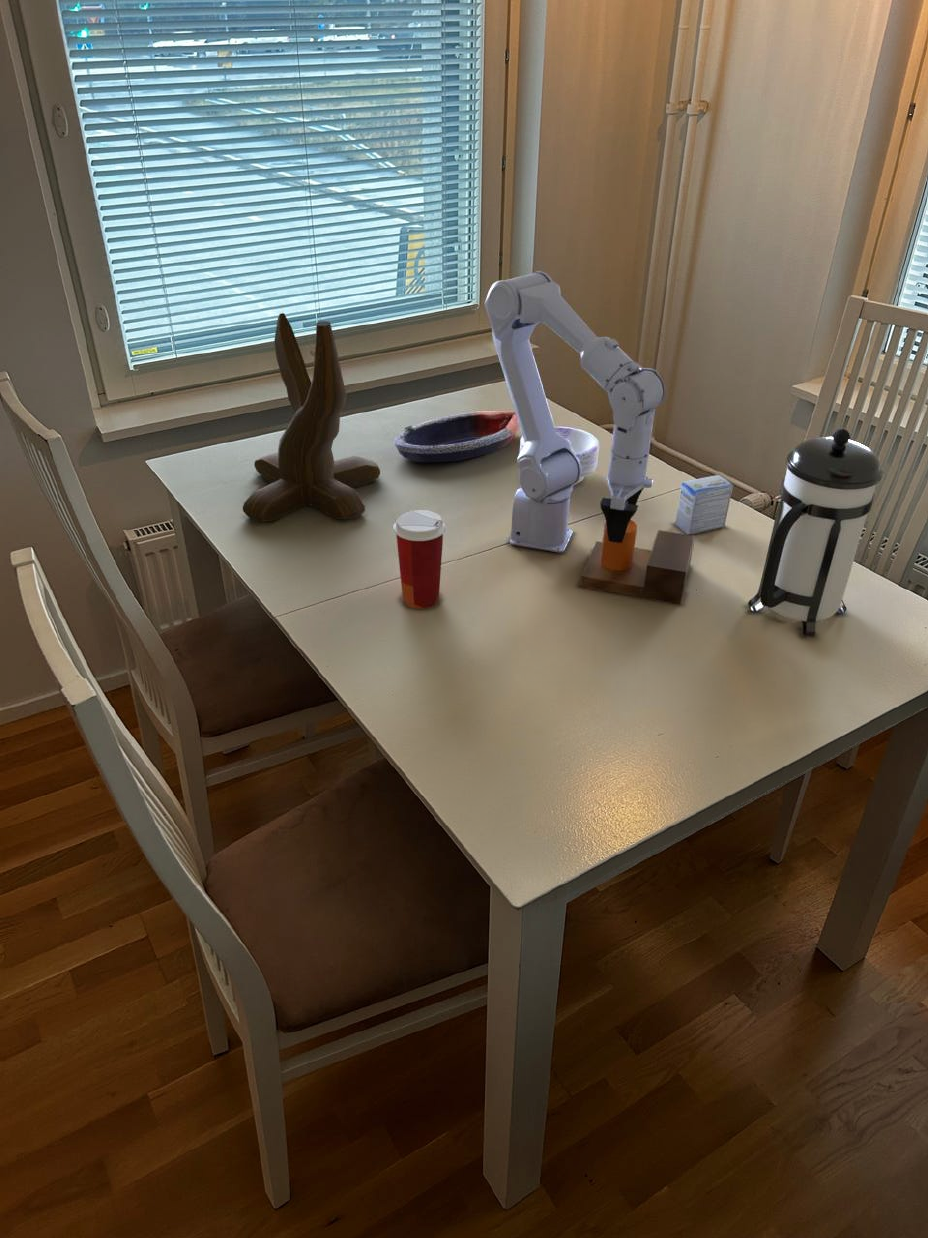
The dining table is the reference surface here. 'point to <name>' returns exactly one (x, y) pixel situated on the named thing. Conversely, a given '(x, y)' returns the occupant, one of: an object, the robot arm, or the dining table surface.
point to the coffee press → (817, 528)
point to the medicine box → (703, 504)
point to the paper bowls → (579, 448)
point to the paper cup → (420, 556)
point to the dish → (457, 436)
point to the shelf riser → (646, 570)
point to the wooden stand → (310, 438)
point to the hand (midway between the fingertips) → (619, 530)
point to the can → (619, 549)
